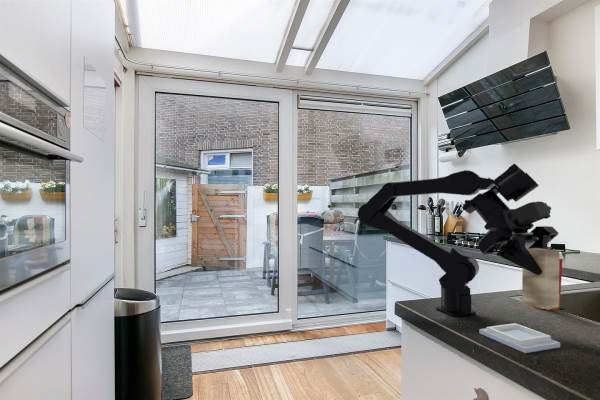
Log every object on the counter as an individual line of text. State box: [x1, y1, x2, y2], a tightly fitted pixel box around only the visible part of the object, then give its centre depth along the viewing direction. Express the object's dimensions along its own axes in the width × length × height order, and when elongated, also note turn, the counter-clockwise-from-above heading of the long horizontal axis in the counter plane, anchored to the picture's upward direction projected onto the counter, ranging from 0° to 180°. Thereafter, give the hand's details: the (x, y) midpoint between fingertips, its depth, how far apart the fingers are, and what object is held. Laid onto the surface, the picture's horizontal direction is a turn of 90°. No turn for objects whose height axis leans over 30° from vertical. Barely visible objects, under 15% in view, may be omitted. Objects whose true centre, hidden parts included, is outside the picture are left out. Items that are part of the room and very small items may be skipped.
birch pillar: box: [521, 248, 560, 310], centre depth 70 cm, size 4×4×11 cm
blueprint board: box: [478, 322, 561, 354], centre depth 67 cm, size 10×8×2 cm
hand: (547, 273), depth 69 cm, fingers closed on birch pillar, 4 cm apart
